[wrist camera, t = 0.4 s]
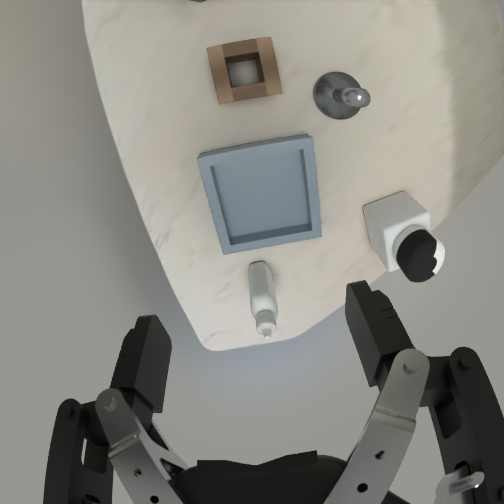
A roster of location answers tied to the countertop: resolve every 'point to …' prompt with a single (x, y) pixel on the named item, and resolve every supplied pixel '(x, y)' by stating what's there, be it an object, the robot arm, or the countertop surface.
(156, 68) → the countertop surface
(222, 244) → the tray
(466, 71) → the countertop surface
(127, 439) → the robot arm
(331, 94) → the grey metal coffee tamper
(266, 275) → the eye dropper bottle
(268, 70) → the block
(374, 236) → the medicine bottle
